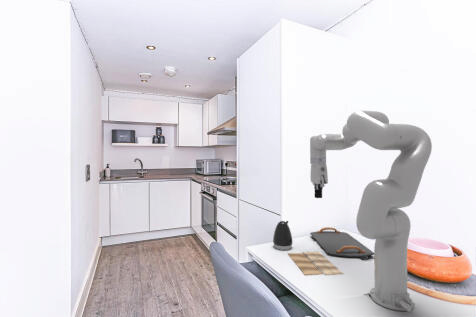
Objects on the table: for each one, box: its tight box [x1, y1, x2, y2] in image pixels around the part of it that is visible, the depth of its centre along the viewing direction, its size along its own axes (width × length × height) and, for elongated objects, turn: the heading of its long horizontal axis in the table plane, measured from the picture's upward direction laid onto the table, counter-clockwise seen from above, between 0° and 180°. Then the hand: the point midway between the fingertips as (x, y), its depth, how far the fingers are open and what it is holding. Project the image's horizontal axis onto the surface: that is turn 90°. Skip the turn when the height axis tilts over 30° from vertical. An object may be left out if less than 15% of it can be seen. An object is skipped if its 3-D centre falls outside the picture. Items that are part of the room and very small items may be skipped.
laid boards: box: [302, 251, 344, 276], centre depth 110 cm, size 24×8×1 cm, turn 7°
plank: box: [287, 252, 324, 276], centre depth 109 cm, size 22×8×1 cm, turn 7°
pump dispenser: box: [272, 220, 293, 251], centre depth 129 cm, size 10×10×15 cm
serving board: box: [309, 226, 374, 259], centre depth 133 cm, size 39×23×6 cm, turn 179°
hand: (318, 197), depth 119 cm, fingers closed
